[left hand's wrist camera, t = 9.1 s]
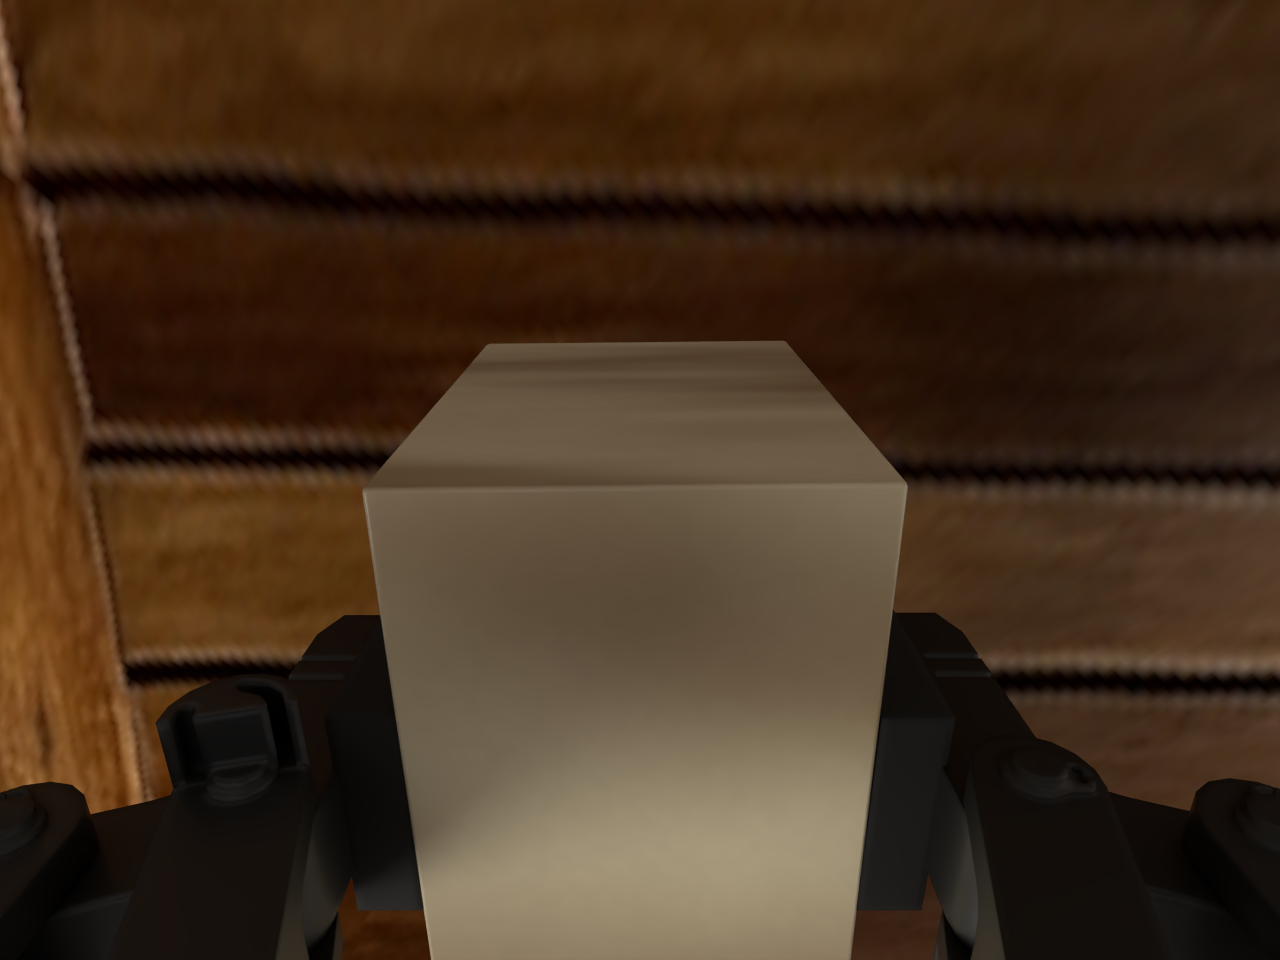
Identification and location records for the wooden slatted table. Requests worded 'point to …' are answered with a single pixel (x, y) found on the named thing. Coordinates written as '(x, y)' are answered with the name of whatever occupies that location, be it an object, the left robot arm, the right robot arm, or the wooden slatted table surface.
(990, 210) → the wooden slatted table surface
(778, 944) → the birch plank
